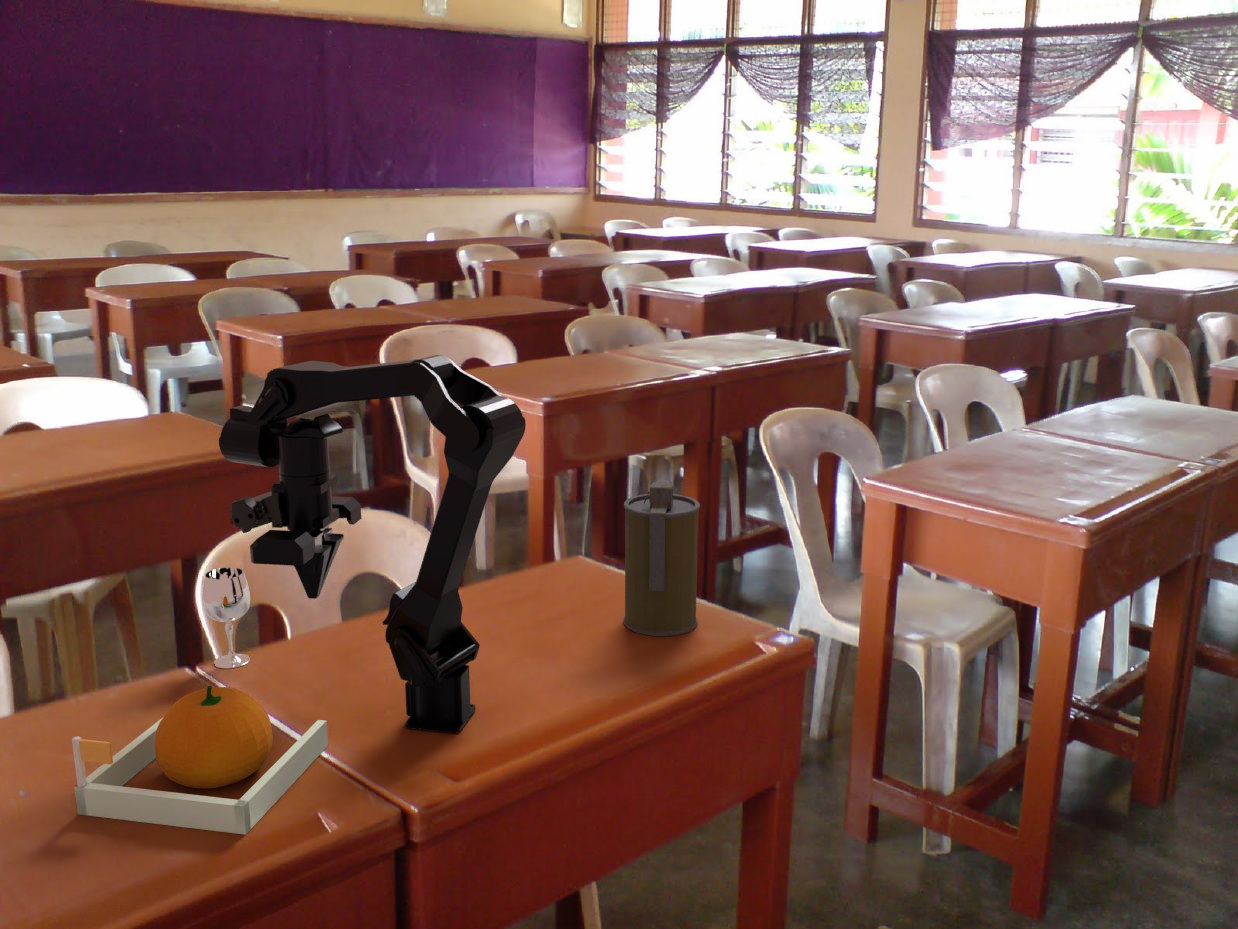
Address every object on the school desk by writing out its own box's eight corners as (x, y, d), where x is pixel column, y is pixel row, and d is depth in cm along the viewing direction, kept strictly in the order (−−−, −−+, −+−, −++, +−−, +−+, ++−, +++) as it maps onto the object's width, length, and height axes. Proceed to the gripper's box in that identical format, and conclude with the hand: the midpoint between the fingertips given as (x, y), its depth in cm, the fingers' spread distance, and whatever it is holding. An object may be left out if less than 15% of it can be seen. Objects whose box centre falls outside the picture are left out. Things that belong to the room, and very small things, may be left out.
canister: (628, 607, 168) (629, 473, 163) (700, 610, 167) (702, 476, 162) (618, 635, 158) (618, 494, 153) (694, 640, 156) (697, 497, 151)
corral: (328, 745, 128) (323, 678, 126) (245, 834, 111) (239, 758, 109) (180, 730, 131) (173, 664, 129) (77, 814, 114) (68, 740, 112)
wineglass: (241, 672, 146) (233, 582, 143) (199, 668, 147) (191, 579, 144) (263, 654, 152) (256, 567, 149) (223, 650, 153) (215, 564, 150)
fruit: (296, 771, 122) (290, 683, 120) (192, 814, 114) (182, 722, 112) (239, 735, 130) (232, 652, 128) (137, 773, 122) (127, 686, 119)
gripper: (274, 450, 145) (283, 568, 149) (199, 489, 127) (212, 623, 131) (359, 453, 143) (366, 572, 147) (296, 493, 125) (306, 628, 129)
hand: (313, 597), depth 138 cm, fingers closed
